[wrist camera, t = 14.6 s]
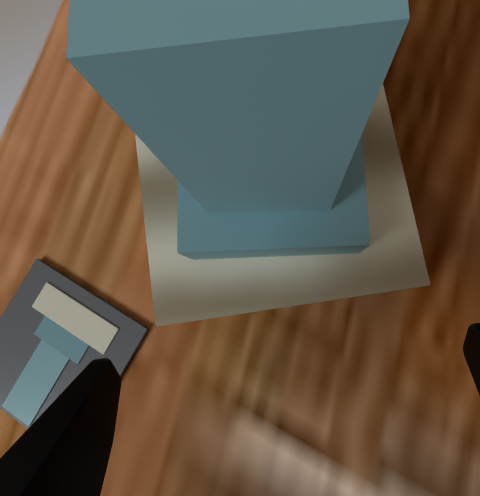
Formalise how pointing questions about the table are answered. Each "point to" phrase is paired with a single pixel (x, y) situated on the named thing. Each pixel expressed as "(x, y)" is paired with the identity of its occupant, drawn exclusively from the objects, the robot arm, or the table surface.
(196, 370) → the table surface
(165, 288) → the cream base block
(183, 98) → the teal block
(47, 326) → the slate card
